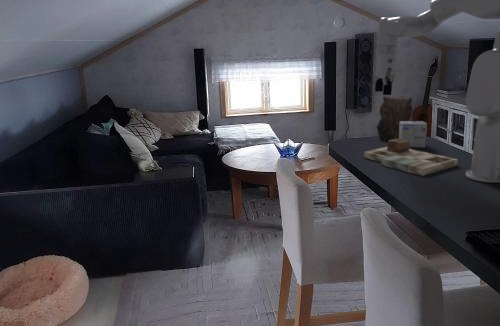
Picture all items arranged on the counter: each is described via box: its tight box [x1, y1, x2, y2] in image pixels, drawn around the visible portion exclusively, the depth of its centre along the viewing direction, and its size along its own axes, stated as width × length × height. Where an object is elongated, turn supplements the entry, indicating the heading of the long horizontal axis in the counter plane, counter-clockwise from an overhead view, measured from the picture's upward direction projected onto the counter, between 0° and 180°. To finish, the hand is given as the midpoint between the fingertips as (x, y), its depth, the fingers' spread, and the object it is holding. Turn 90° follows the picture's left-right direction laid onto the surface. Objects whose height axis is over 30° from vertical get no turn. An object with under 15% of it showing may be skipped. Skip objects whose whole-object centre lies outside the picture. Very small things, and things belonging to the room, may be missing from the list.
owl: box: [376, 96, 413, 141], centre depth 207 cm, size 13×13×20 cm
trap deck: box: [363, 146, 459, 177], centre depth 170 cm, size 29×21×2 cm
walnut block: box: [386, 139, 410, 153], centre depth 177 cm, size 6×6×4 cm
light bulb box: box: [398, 120, 428, 148], centre depth 194 cm, size 11×7×11 cm, turn 84°
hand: (382, 93), depth 179 cm, fingers open, 9 cm apart
